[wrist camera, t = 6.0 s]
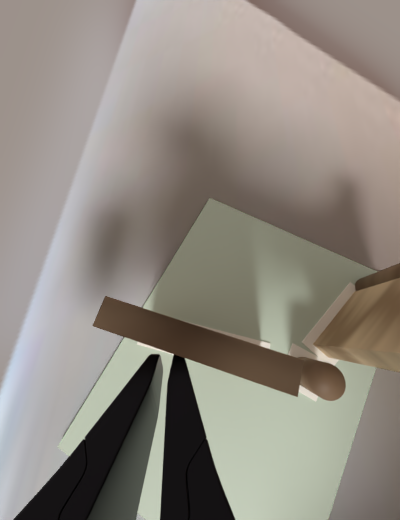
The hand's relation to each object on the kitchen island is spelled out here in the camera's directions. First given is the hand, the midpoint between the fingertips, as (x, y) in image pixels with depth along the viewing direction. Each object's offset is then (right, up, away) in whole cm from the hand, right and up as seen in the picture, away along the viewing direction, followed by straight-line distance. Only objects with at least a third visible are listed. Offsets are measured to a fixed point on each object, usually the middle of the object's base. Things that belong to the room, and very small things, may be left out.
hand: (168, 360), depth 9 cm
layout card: (+4, -3, +7) cm, 9 cm away
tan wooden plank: (+2, -1, +7) cm, 7 cm away
